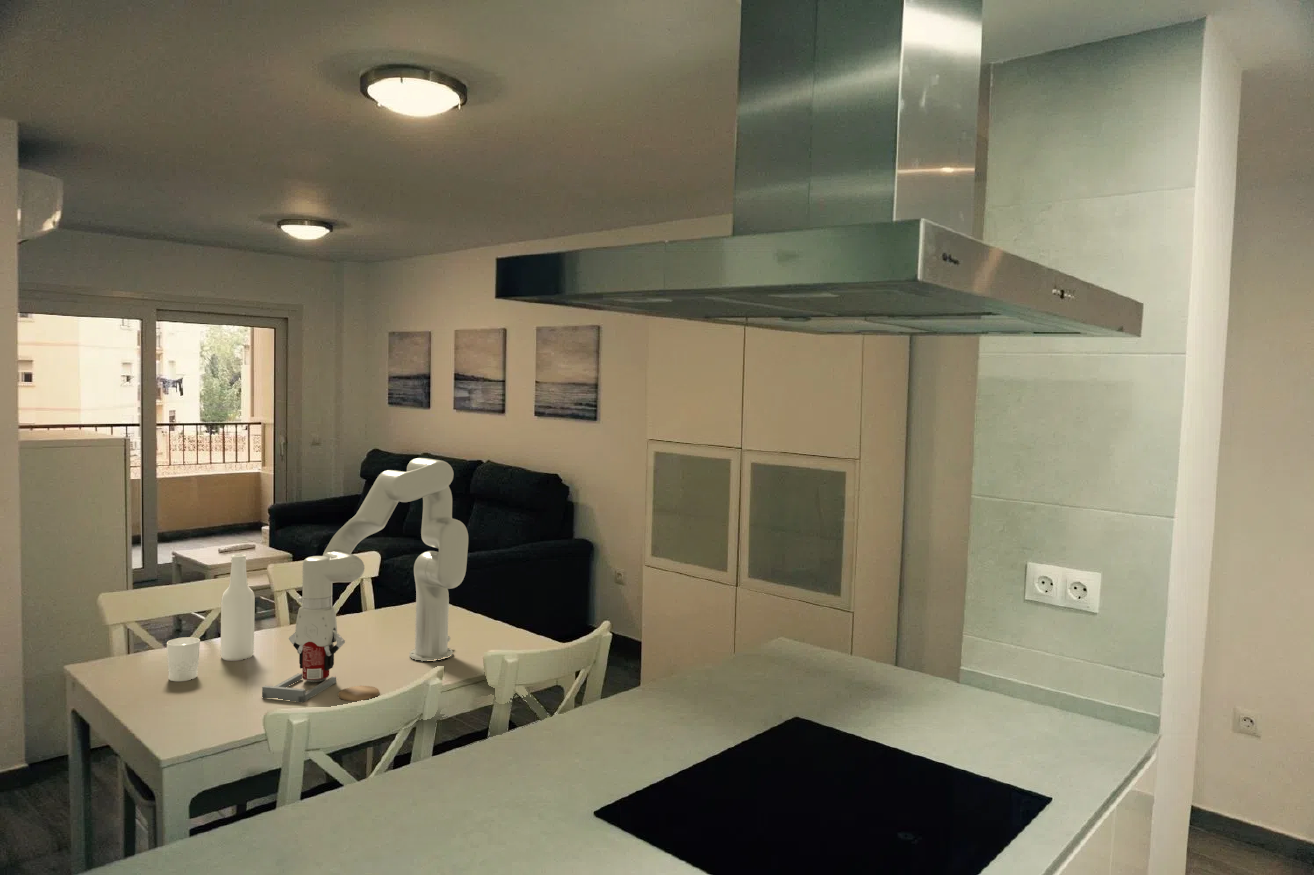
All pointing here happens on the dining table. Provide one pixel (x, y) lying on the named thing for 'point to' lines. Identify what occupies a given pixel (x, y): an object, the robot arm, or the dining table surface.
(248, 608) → the alcohol
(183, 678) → the white cup
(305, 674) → the soda can
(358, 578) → the robot arm
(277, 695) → the u-shaped frame
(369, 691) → the coaster
